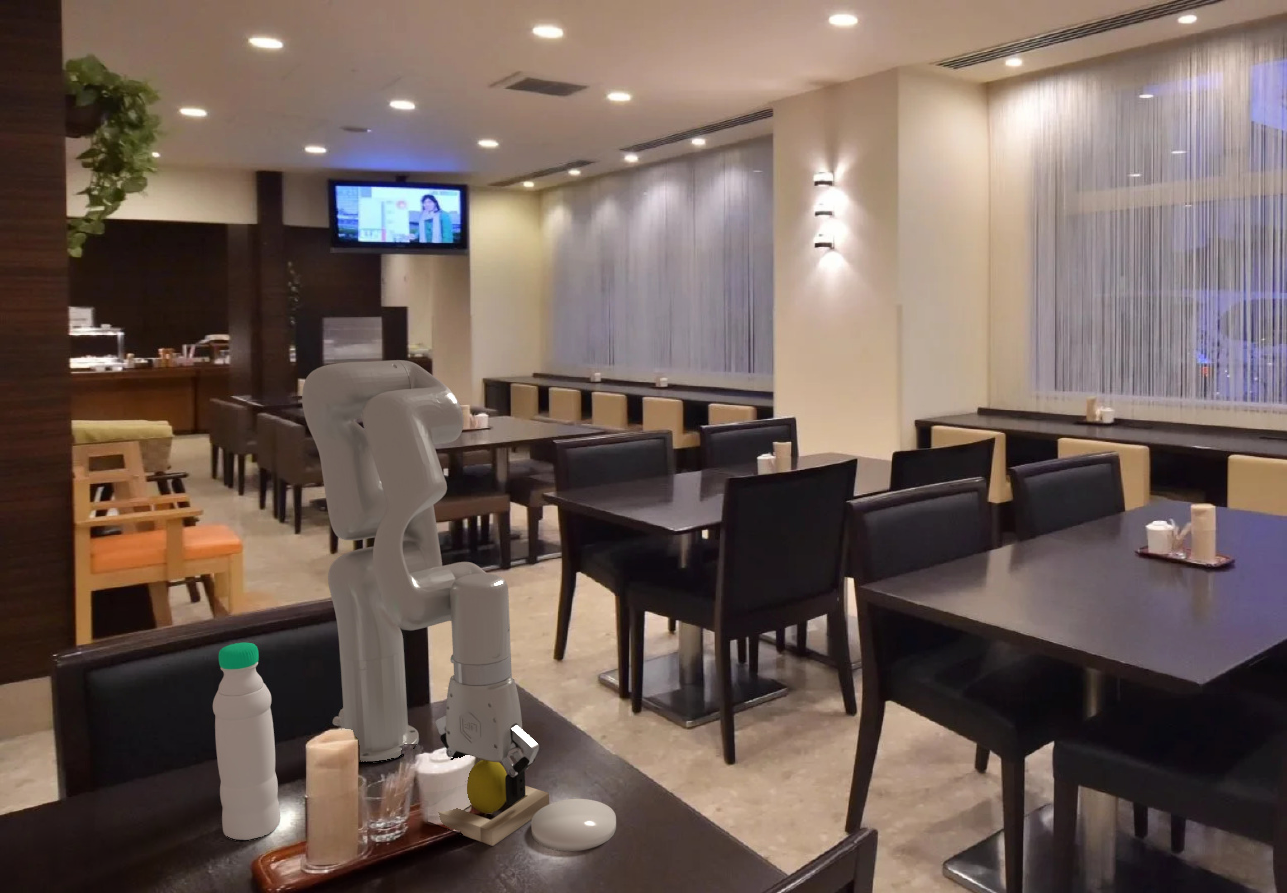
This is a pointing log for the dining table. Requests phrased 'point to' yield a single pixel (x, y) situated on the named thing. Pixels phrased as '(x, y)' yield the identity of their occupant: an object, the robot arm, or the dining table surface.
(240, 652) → the water bottle
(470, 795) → the lemon
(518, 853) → the dining table surface
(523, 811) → the frame
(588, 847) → the saucer
